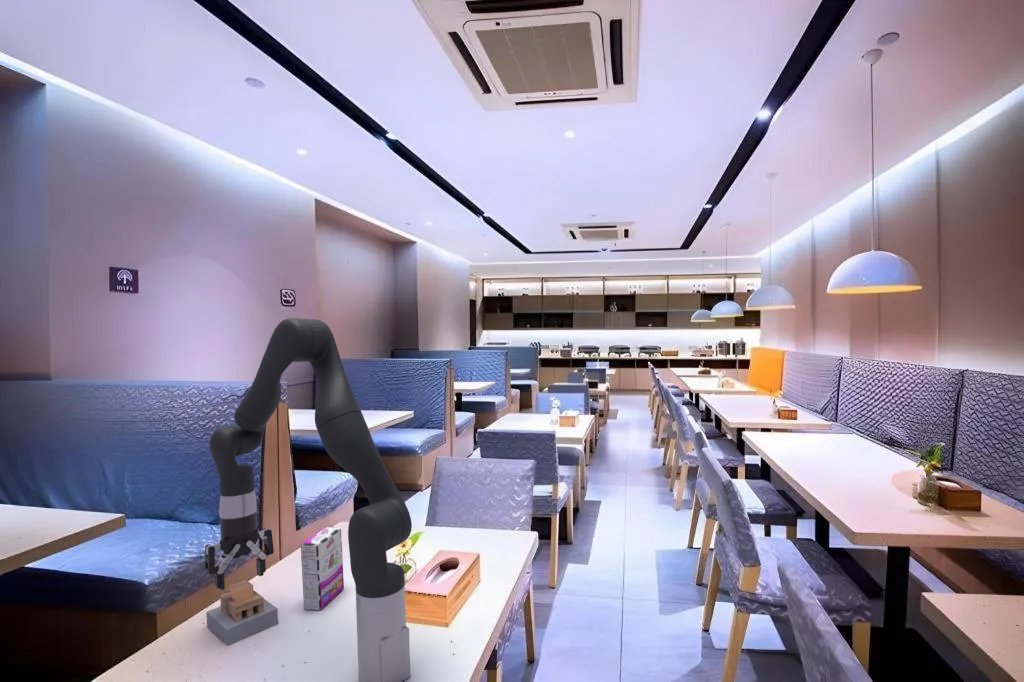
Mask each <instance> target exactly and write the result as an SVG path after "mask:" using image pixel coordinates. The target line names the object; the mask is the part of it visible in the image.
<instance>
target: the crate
mask: <svg viewBox="0 0 1024 682" xmlns="http://www.w3.org/2000/svg"><path fill="white" fill-rule="evenodd" d="M253 590H254V584H253V583H251V582H249V580H247V579H244V580H241V581H239V582H236V583H233V584H230V585H229V592H230V597H231V598H232V599H233V600H235V601H236V602H239V601H242V600H245V599H247V598H250V597H252V596H254V595H253Z"/></svg>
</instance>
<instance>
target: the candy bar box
mask: <svg viewBox="0 0 1024 682" xmlns="http://www.w3.org/2000/svg"><path fill="white" fill-rule="evenodd" d="M342 544H343V540H342V527H339V526H338V527H335V526H331V527H330V526H325V527H324V528H322V529H321V530H319V531H317V532H316V533H315V534H313V535H312V536H310V537H309V538H307V539H305V540H304V541H303V542H301V543H300V555H301V557H300V558H301V573H302V575H301V577H302V594H303V595H302V596H303V598H302V599H303V609H304V610H305V611H323V609H325V608H326V607H327V605H329V604H330V603H331V602H333V600H334V599H335V598H336V597H337V596H339V594H340V593H341V592H342V591H343V590H344V589H345V585H344V583H345V581H344V580H345V579H344V567H343V566H344V565H343V564H344V562H343V545H342Z"/></svg>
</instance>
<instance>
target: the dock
mask: <svg viewBox="0 0 1024 682" xmlns="http://www.w3.org/2000/svg"><path fill="white" fill-rule="evenodd" d="M278 611H279V609H278V607H276V606H275V605H273V604H272V603H270V602H269V601H268V600H266V599H265V598H264V611H263V612H261V613H258V612H256V611H255V610H254V609H253V616H251V617H248V618H247V617H246V616H245V615H244V614H242V620H241V621H239V622H235V621H234V620H233V619H232V618H230V617H229V616H228V615H227V614H226V613H225V612H223V611H222V610H221V605H220V606H218V607H215V608H213V609H209V610H207V611H206V627H207V628H208V629H209V628H210V629H211V630H210V629H209V630H210V631H211V632H212V633H213V634H214V635H215V636H216V637H217V638H218V639H219V640H220V641H221V642H223V643H224V645H226V646H230V645H233V644H235V643H237V642H239V641H238V640H240V641H241V639H242V640H244V639H246V638H249V637H250V636H253V635H255V633H256V634H258V633H260V632H262V631H265V630H266V629H269V628H271V626H272V627H274V626H276V625H279V613H278ZM264 629H265V630H264ZM257 632H258V633H257ZM248 636H249V637H248ZM243 638H244V639H243ZM236 641H237V642H236ZM234 642H235V643H234ZM232 643H233V644H232Z"/></svg>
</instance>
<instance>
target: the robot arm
mask: <svg viewBox="0 0 1024 682" xmlns="http://www.w3.org/2000/svg"><path fill="white" fill-rule="evenodd" d="M337 345H338V344H337V343H336V339H335V337H334V335H333V332H332V330H331V328H330V327H329V325H328V324H327V323H326V322H324V321H323V320H319V319H314V318H300V317H296V318H295V317H289V318H285V319H283V320H281V321H280V322H279V323H278V324H277V326H276V327H275V328H274V331H273V332H272V334H271V337H270V338H269V341H268V343H267V346H266V349H265V352H264V354H263V356H262V359H261V361H260V364H259V368H258V370H257V372H256V375H255V377H254V379H253V381H252V383H251V386H250V387H249V389H248V391H247V392H246V394H245V395H244V397H243V398H242V400H241V401H240V403H239V404H238V406H237V408H236V409H235V412H234V415H233V419H234V422H235V424H234V425H229V426H224V427H220V428H217V429H215V430H214V431H213V432H212V434H211V436H210V438H209V444H208V445H209V452H210V454H211V457H212V459H213V462H214V464H215V467H216V471H217V474H218V476H219V477H218V478H219V493H220V497H219V498H220V499H219V509H218V515H219V525H220V527H219V529H220V541H219V543H216V544H211V543H207V544H206V545H205V546H204V572H206V573H207V574H208V575H214V587H215V588H216V589H218V590H219V591H223V590H225V588H226V586H225V583H226V582H225V573H224V571H225V570H226V568H227V566H229V564H230V563H231V562H232V560H233V559H234V560H236V559H238V558H240V557H242V556H247V555H248V556H249V555H250V554H251V553H253V555H255V556H256V557H257V558H256V559H255V563H256V565H255V566H256V567H255V568H256V575H257V576H259V577H262V576H264V573H266V569H267V568H266V567H267V566H266V559H267V557H268V556H271V555H273V554H274V551H275V550H274V539H273V530H272V529H269V528H268V527H264V528H263V529H262V530H259V531H258V515H257V514H258V513H257V511H258V509H257V496H256V489H255V472H254V468H253V467H252V466H251V465H250V464H238V461H237V460H236V457H239V456H243V455H246V454H251V453H253V452H254V451H256V450H257V449H258V447H260V445H261V443H262V441H263V437H264V433H265V430H266V428H267V427H266V426H267V423H268V422H269V421H270V419H271V418H272V416H273V415H274V413H275V412H276V409H277V408H278V407H279V405H280V402H281V398H282V389H281V379H282V376H283V374H284V373H285V371H286V369H288V367H289V366H291V365H292V363H302V362H303V363H305V362H309V364H310V365H311V367H312V370H313V371H314V375H315V376H316V379H317V385H318V394H317V399H316V404H315V409H314V425H315V428H316V430H317V432H318V435H319V437H320V438H319V439H320V440H321V443H322V445H323V447H324V449H325V450H324V451H326V453H327V454H328V456H329V457H330V458H331V459H332V460H333V461H334V462H335V463H336V464H337V465H339V466H340V467H341V468H342V469H343V470H344V471H346V472H347V473H348V474H350V476H352V477H353V478H354V479H355V480H356V481H357V482H358V484H359V485H360V486H361V488H362V490H363V492H364V493H365V495H366V497H367V500H368V502H369V505H365V506H364V507H361V508H359V509H357V510H355V511H354V512H353V513H352V515H351V517H350V519H349V522H348V529H347V535H348V536H347V538H348V549H349V550H348V551H349V561H350V564H349V565H350V572H351V575H352V578H353V580H354V583H355V609H356V610H355V612H356V613H355V614H356V638H357V639H356V640H357V641H356V643H357V669H358V682H401V681H402V682H404V681H405V680H407V679H408V678H410V677H411V651H410V649H411V647H410V628H409V627H408V626H407V613H406V612H407V611H406V610H407V609H406V580H405V577H406V575H405V571H404V568H403V567H402V566H401V565H400V564H398V563H394V562H390V561H389V562H388V558H387V551H389V550H391V549H394V548H395V547H398V546H400V545H401V544H403V543H404V542H406V541H407V540H408V539H409V538H410V535H411V533H412V526H413V524H412V518H411V514H410V511H409V509H408V506H407V505H406V503H405V500H404V498H403V496H402V495H401V493H400V491H399V489H398V488H397V486H396V484H395V483H394V481H393V479H392V477H391V476H390V473H389V472H388V469H387V468H386V466H385V464H384V461H383V459H382V457H381V454H380V453H379V451H378V448H377V445H376V444H375V442H374V440H373V437H372V434H371V432H370V429H369V427H368V424H367V422H366V419H365V417H364V415H363V412H362V411H361V409H360V405H359V404H358V402H357V399H356V397H355V395H354V393H353V390H352V388H351V385H350V383H349V379H348V377H347V374H346V372H345V369H344V367H343V362H342V359H341V356H340V352H339V349H338V346H337ZM260 538H261V539H262V541H263V550H261V548H259V547H258V546H257V545H256V544H257V543H258V541H259V539H260ZM219 550H221V551H222V552H221V554H220V556H219V558H218V560H217V563H216V562H215V561H216V559H215V558H216V557H215V556H216V555H217V554H218V551H219ZM215 563H216V564H215ZM403 680H404V681H403Z"/></svg>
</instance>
